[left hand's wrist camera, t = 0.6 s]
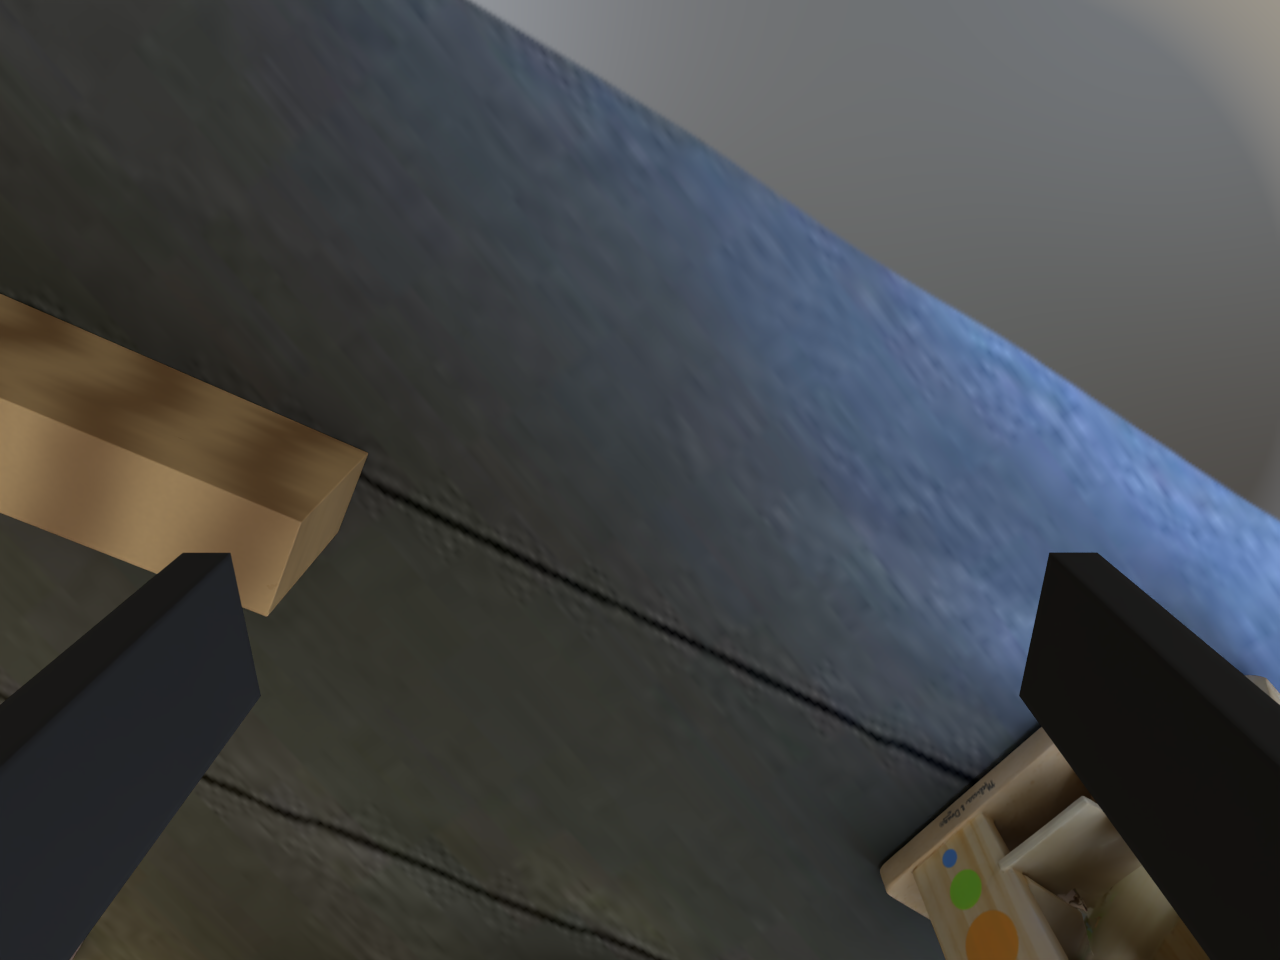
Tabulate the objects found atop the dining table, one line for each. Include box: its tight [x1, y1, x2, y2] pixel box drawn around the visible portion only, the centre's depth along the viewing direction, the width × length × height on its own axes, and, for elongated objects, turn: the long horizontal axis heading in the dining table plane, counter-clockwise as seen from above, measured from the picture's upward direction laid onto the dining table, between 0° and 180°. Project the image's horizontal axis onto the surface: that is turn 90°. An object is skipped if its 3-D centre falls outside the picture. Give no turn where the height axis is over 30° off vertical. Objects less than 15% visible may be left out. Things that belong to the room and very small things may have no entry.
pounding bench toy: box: [880, 675, 1280, 960], centre depth 38 cm, size 23×14×18 cm, turn 143°
